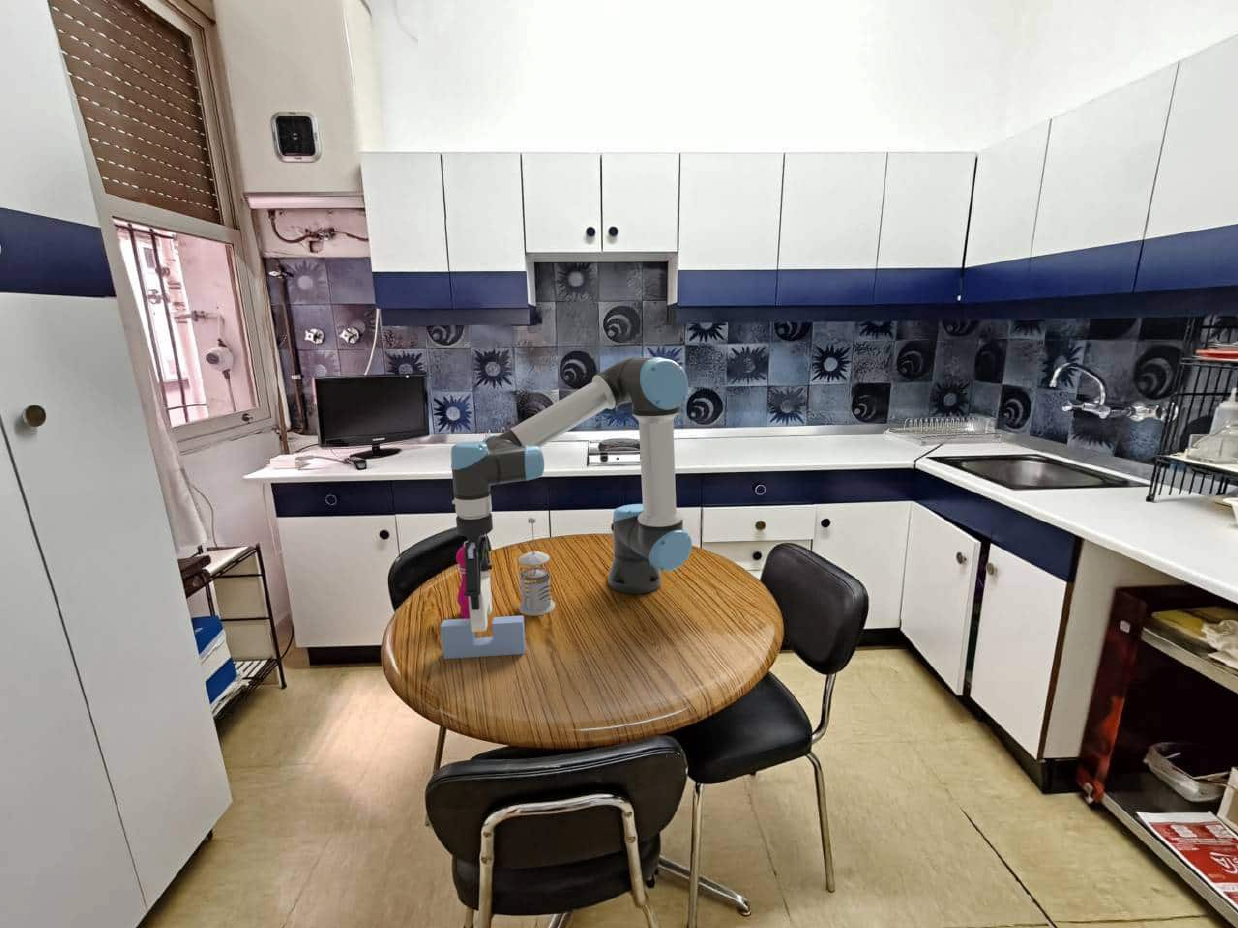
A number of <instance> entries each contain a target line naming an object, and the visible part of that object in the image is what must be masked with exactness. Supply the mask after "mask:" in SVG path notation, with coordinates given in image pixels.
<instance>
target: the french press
mask: <svg viewBox="0 0 1238 928" xmlns="http://www.w3.org/2000/svg"><path fill="white" fill-rule="evenodd" d="M536 522H537V521H536V518H535V517H530V518H528V524H531V532H532V533H531V534H532V537H534V523H536ZM532 550H533V551H528V552H524V554H523V555H521V556H520V557H518V562H519V563H520V564H521V565H522V566H526V567H529V568H526V569H524V568H522V569H521V570H520V572H519V575H518V578H517V590H518V593H519V595H521V603H520V604H519V605H518V611H519V612H520V614H521V613H522V615H523V614H524V615H526V616H531V617H532V616H542V615H544V614H549V613H550V612H552V611H553V610H554V609H555V607H556V602H555V601H553V600H552V595H551V594H552V591H551V576H550V574H549V570H548V569H547V568H545V567H539V566H541V565H543V564H546V563H547V562H548V561H549V560H550V558H551V557H550V555H549V554H547V553H545V552H542V551H538V550H536V551H535V542H534V538H532ZM519 580H520V583H519ZM527 581H529V582H527ZM530 581H533V582H530ZM519 584H520V587H519Z"/></svg>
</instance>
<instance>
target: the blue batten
mask: <svg viewBox="0 0 1238 928" xmlns="http://www.w3.org/2000/svg"><path fill="white" fill-rule="evenodd" d="M491 627H492V628H491V629H492V631H491V632H492V636H489V637H488V636H486V637H476V632H472V629H471V620H470V619H466V618H456V619H443V621H442V623H441V624H440V634H441V635H440V637H441V646H442V655H443V656H442V657H443V660H449V659H467V658H481V657H482V658H483V657H499V656H500V657H501V656H514V655H515V656H516V655H525V653H526V648H527V647H526V632H525V631H526V629H525V614H524V615H523V614H522V615H509V616H507V615H506V616H494V617H493V620H492V621H491Z"/></svg>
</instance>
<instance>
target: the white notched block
mask: <svg viewBox="0 0 1238 928" xmlns="http://www.w3.org/2000/svg"><path fill="white" fill-rule="evenodd" d="M491 584H492V583H491V577H482V578H481V592H482V599H483V612H484V621H482V622H471V629H472V632H475V633H478V632H479V633H481V632H486V631H487V628H488V625H489V623H488V616H489V615H490V616H491V615H492V610H493V601H492V587H491Z"/></svg>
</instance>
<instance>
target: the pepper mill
mask: <svg viewBox="0 0 1238 928" xmlns="http://www.w3.org/2000/svg"><path fill="white" fill-rule="evenodd" d="M466 542H468V540H467V541H464V543H463V546H462V547H461V548H459V549H458V551H457V552H456V555H455V560H456V563H457V564H458V565H459V566H458V572H460V575H461V584H460V587H459V588H458V589H459V590H458V592H457V596H456V597H457V598H456V599H457V600H456V601H457V604H458V606H460V610H459V611H460V617H462V619H470V608H469V596H466V595H464V592H466V570H465V553H464V550H465V543H466Z"/></svg>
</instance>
